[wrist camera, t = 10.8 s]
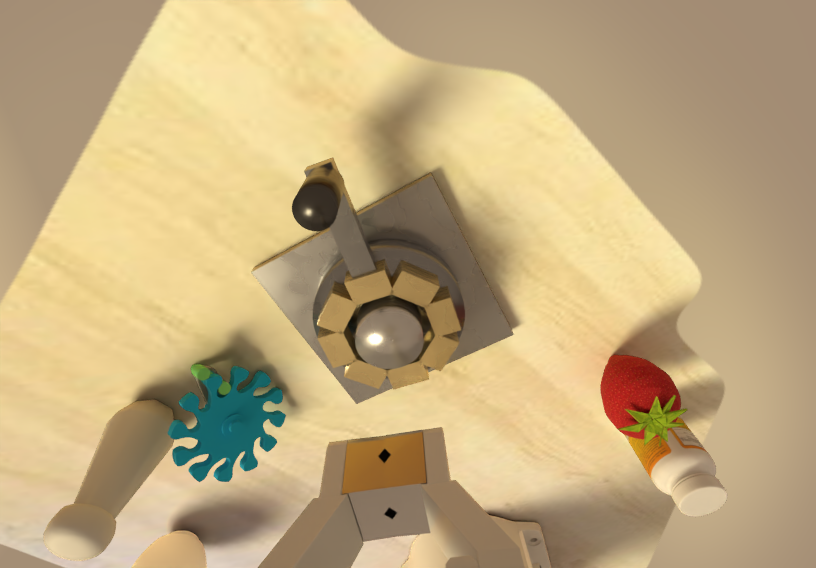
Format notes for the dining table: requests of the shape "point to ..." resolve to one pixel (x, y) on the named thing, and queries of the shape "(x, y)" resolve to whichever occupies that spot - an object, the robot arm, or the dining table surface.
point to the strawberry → (640, 398)
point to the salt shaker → (111, 480)
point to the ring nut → (370, 285)
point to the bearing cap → (393, 241)
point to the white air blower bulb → (174, 552)
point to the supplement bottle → (682, 470)
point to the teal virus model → (226, 421)
